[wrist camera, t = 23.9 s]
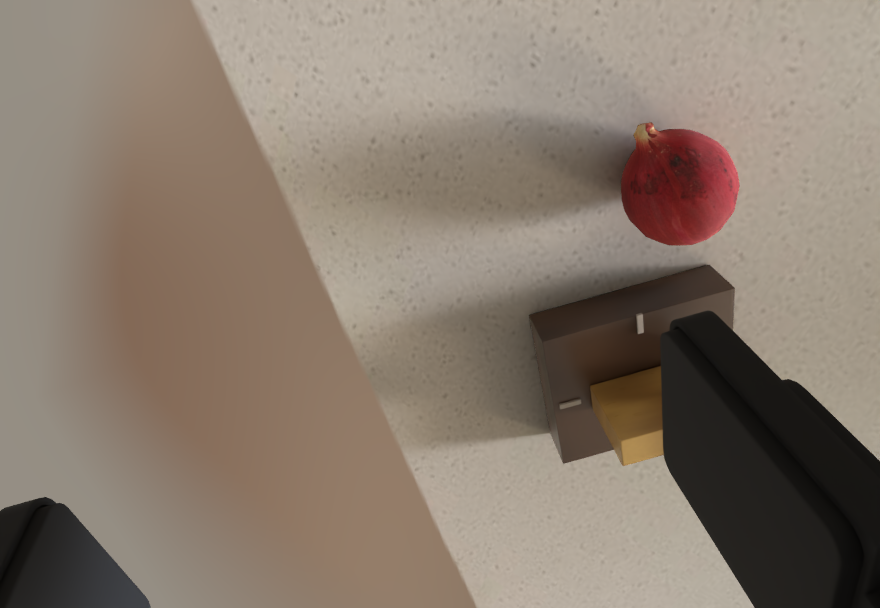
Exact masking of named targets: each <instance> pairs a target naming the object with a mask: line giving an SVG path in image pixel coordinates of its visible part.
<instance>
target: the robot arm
mask: <svg viewBox="0 0 880 608" xmlns="http://www.w3.org/2000/svg"><path fill="white" fill-rule="evenodd" d="M660 351H661V389H662V427H663V453H664V458H665V461H666V464H667V467H668V469H669V471H670V473H671V475H672V476H673V478H674V480H675V481H676V483H677V484H678V486H679V488H680V489H681V491H682V492H683V494H684V496H685V497H686V499H687V500H688V502H689V503H690V505H691V507H692V508H693V510H694V511H695V513H696V515H697V516H698V518H699V519H700V521H701V523H702V524H703V526H704V527H705V529H706V531H707V532H708V534H709V535H710V537H711V539H712V540H713V542H714V543H715V545H716V547H717V548H718V550H719V551H720V553H721V555H722V556H723V558H724V559H725V561H726V562H727V564H728V566H729V567H730V569H731V570H732V572H733V574H734V575H735V577H736V578H737V580H738V582H739V583H740V585H741V586H742V588H743V590H744V591H745V593H746V594H747V596H748V598H749V599H750V601H751V602H752V604H753V606H754V607H755V608H880V461H879V460H878V459H877V458H876V457H875V456H874V455H873V454H872V453H871V452H870V451H869V450H868V449H867V448H866V447H865V446H864V445H863V444H862V443H861V442H859V441H858V440H857V439H856V438H855V437H854V436H853V435H852V434H851V433H850V432H849V431H848V430H847V429H846V428H845V427H844V426H843V425H842V424H841V423H840V422H839V421H838V420H837V419H836V418H835V417H834V416H833V415H832V414H831V413H830V412H829V411H828V410H827V409H826V408H825V407H824V406H823V405H822V404H821V403H819V402H818V401H817V400H816V399H815V398H814V397H813V396H812V395H811V394H810V393H809V392H808V391H807V390H806V389H805V388H804V387H802V386H801V385H800V384H798V383H797V382H795V381H792V380H789V379H787V380H781V379H780V378H779V377H778V376H777V375H776V374H775V373H774V372H773V371H772V370H771V369H770V368H769V367H768V366H767V365H766V364H765V363H764V362H763V361H762V360H761V359H760V358H759V357H758V356H757V355H756V354H755V353H754V352H753V351H752V350H751V348H750V347H749V346H748V345H747V344H746V343H745V342H744V341H743V340H742V339H741V338H740V337H739V336H738V335H737V334H736V333H735V332H734V331H733V330H732V329H731V328H730V327H729V326H728V325H727V324H726V323H725V322H724V321H723V320H722V319H721V318H720V317H719V316H718V315H717V314H715V313H714V312H713V311H709V310H707V311H703V312H700V313H696V314H693V315H689V316H686V317H682V318H679V319H675V320H673V321H671V324H670V329H669V331H668V332H664V333H662V334H661V337H660ZM0 608H150V604H149V601H148V599H147V598H146V596H145V595H144V594H143V593H142V592H141V591H140V590H139V588H137V586H136V585H135V584H134V583H133V582H132V580H131V579H130V578H129V577H128V576H127V575H126V574H125V573H124V571H123V570H122V569H121V568H120V567H119V566H118V564H117V563H116V562H115V561H114V560H113V559H112V558H111V556H110V555H109V554H108V553H107V552H106V551H105V550H104V549H103V547H102V546H101V545H100V544H99V543H98V542H97V540H96V539H95V538H94V537H93V536H92V535H91V534H90V532H89V531H88V530H87V529H86V528H85V527H84V526H83V524H82V523H81V522H80V521H79V520H78V519H77V517H76V516H75V515H74V514H73V513H72V512H71V511H70V509H69V508H68V507H66V506H65V505H64V504H61V503H55V502H54V501H53V500H51V499H49V498H46V497H44V498H38V499H35V500H32V501H28V502H24V503H21V504H17V505H13V506H10V507H6V508H4V509H2V510H1V511H0Z"/></svg>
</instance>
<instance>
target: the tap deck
mask: <svg viewBox="0 0 880 608" xmlns="http://www.w3.org/2000/svg"><path fill="white" fill-rule="evenodd" d="M734 297H735V288H734V287H733V286H732V285H731V284H730V283H729V282H728V281H727V280H726V279H724V278H723V277H722V276H721V275H720V274H719V273H718V272H717V271H716V270H715V269H714V268H712V267H711V266H710V265H706V266H703V267H699V268H696V269H692V270H688V271H685V272H681V273H678V274H674V275H671V276H667V277H663V278H660V279H656V280H653V281H649V282H645V283H642V284H638V285H635V286H631V287H628V288H624V289H620V290H617V291H613V292H610V293H606V294H603V295H599V296H595V297H592V298H588V299H585V300H581V301H578V302H574V303H570V304H567V305H563V306H560V307H556V308H552V309H549V310H545V311H542V312H538V313H535V314H531V315H529V318H530V324H531V329H532V335H533V340H534V346H535V351H536V357H537V362H538V368H539V373H540V379H541V384H542V390H543V395H544V401H545V406H546V412H547V417H548V423H549V428H550V434H551V436H552V438H553V441H554V443H555V446H556V448H557V450H558V453H559V455H560V457H561V460H562V462H563V464H564V463H568V462H571V461H575V460H578V459H582V458H586V457H589V456H593V455H596V454H600V453H603V452H607V451H611V450H614V448H613V447H612V445H611V443H610V441H609V439H608V437H607V435H606V433H605V432H604V430H603V428H602V426H601V424H600V422H599V420H598V418H597V417H596V415H595V413H594V411H593V406H592V398H591V391H590V386H591V385H595V384H598V383H602V382H605V381H609V380H612V379H616V378H619V377H623V376H627V375H630V374H634V373H637V372H641V371H644V370H648V369H651V368H655V367H659V366H661V351H660V337H661V334H662V333H664V332H668V331H669V329H670V324H671V321H673V320H675V319H679V318H682V317H686V316H689V315H693V314H696V313H700V312H703V311H707V310H709V311H713V312H714V313H715V314H717V315H718V316H719V317H720V318H721V319H722V320H723V321H724V322H725V323H726V324H727V325H728V326H729V327H730V328H731V329H732V330H733V318H734Z"/></svg>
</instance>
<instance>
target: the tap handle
mask: <svg viewBox="0 0 880 608" xmlns="http://www.w3.org/2000/svg"><path fill="white" fill-rule="evenodd" d="M590 391H591V398H592V406H593V411H594V413H595V415H596V417H597V418H598V420H599V422H600V424H601V426H602V428H603V430H604V432H605V433H606V435H607V437H608V439H609V441H610V443H611V445H612V447H613V448H614V450H615V452H616V454H617V456H618V458H619V460H620V462H621V464H622V465H623V466H626V465H629V464H633V463H636V462H640V461H643V460H647V459H650V458H654V457H658V456H661V455H664V453H663V427H662V389H661V366H659V367H655V368H651V369H648V370H644V371H641V372H637V373H634V374H630V375H627V376H623V377H619V378H616V379H612V380H609V381H605V382H602V383H598V384H595V385H591V386H590Z"/></svg>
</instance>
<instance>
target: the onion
mask: <svg viewBox="0 0 880 608" xmlns="http://www.w3.org/2000/svg"><path fill="white" fill-rule="evenodd" d="M634 138H635V140H636V149H635V150H634V151H633V153H632V154H631V156H630V158H629V160H628V162H627V164H626V165H625V168H624V171H623V174H622V179H621V194H622V202H623V206H624V210H625V212H626V214H627V216H628V218H629V220H630V221H631V222H632V223H633V224H634V225H635V226H636V227H637V228H638V229H639V230H640V231H641V232H642V233H643V234H644V235H645V236H646V237H648V238H650V239H653V240H655V241H658V242H661V243H664V244H667V245H693V244H696V243H698V242H701V241H704V240H707V239H708V238H710V237H711V236H712V235H714V234H715V233H717V232H718V231H720V230H721V228H722V227H723V226H724V224H725V223H726V222H727V220H728V219H729V217H730V216H731V215H732V213H733V212H734V209H735V205H736V200H737V195H738V191H739V186H740V185H739V179H738V173H737V170H736V168H735V165H734V163H733V161H732V159H731V157H730V156H729V154H728V152H727V151H726V149H725V148H724V147H722V146H721V145H720V144H719V143H718V142H717V141H715V140H713V139H711V138H709V137H707V136H705V135H703V134H701V133H699V132H695V131H692V130H685V129H668V130H663V131H657V130H656V129H654V125H653V124H652V123H644V124H640V125H638V126H637V130H636V132H635V133H634Z"/></svg>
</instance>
